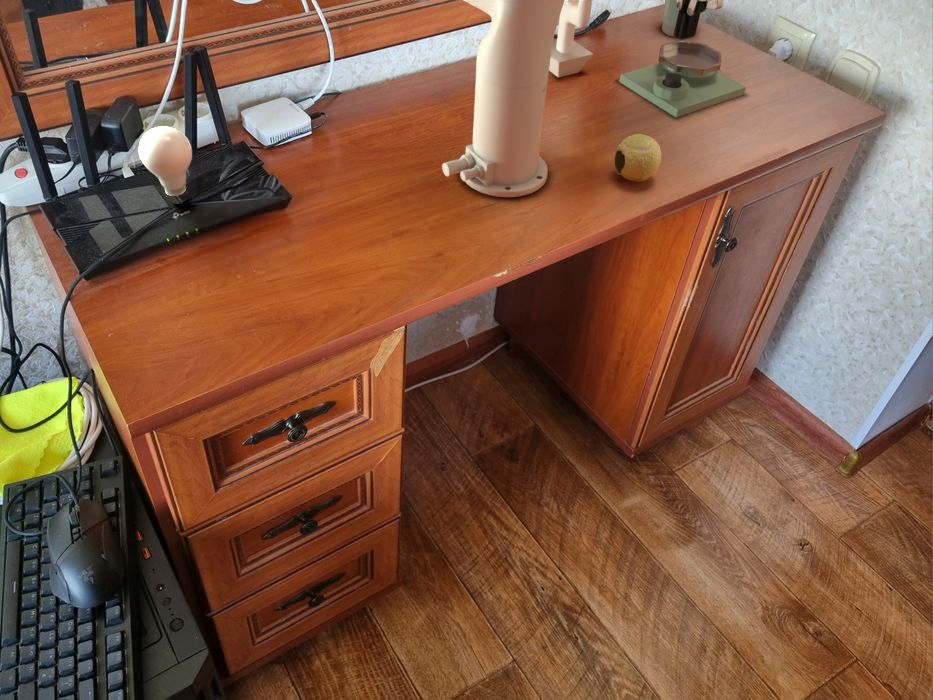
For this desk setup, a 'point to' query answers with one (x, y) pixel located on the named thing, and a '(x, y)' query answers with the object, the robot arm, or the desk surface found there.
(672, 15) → the coffee cup
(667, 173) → the desk surface
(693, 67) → the pan
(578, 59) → the figurine
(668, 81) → the button
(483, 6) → the robot arm
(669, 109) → the scale
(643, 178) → the tennis ball
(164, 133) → the lightbulb
